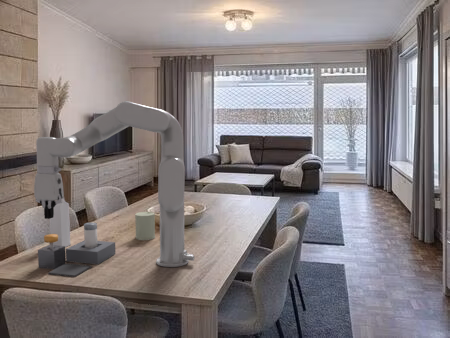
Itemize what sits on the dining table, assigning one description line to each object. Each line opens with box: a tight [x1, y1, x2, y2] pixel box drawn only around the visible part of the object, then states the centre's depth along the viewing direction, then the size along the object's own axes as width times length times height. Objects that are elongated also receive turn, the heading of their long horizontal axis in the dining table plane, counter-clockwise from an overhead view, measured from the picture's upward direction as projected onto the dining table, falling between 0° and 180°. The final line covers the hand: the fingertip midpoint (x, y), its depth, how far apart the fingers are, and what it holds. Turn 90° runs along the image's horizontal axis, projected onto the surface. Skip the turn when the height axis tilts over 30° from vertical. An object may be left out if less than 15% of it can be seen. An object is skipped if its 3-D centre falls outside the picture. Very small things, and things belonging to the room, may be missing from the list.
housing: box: [65, 240, 117, 265], centre depth 185 cm, size 14×14×5 cm
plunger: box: [43, 233, 58, 249], centre depth 175 cm, size 5×5×8 cm
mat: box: [48, 262, 93, 278], centre depth 170 cm, size 11×11×1 cm
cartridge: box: [83, 221, 98, 248], centre depth 185 cm, size 5×5×14 cm
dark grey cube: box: [37, 244, 67, 270], centre depth 175 cm, size 7×7×7 cm
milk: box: [48, 196, 71, 248], centre depth 201 cm, size 6×6×22 cm
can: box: [134, 211, 156, 241], centre depth 215 cm, size 9×9×12 cm
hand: (49, 217), depth 173 cm, fingers closed
